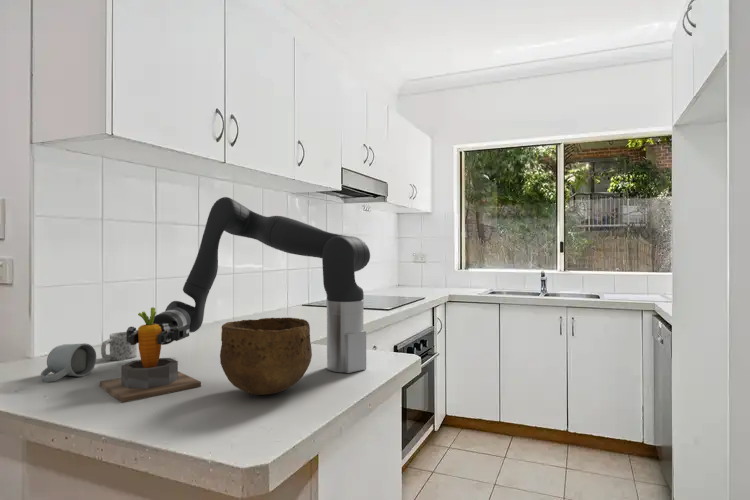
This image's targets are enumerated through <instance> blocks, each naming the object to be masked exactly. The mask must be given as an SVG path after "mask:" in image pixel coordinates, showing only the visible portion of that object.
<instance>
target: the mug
mask: <svg viewBox="0 0 750 500" xmlns="http://www.w3.org/2000/svg"><path fill="white" fill-rule="evenodd" d="M108 344H109V354H107V352H106V351H107V350H106V349H107V345H108ZM137 344H138V343H137ZM137 344H135V345H131V343H129V342H127V339H126V331H120V332H115V333H110V334H109V338H108V339H106V340H104V341H102V343H101V347H100V354H101V358H102V359H105V360H108V359H109V360H110V361H126V360H132V359H135V358H137V355H138V353H137V349H138V348H137Z"/></svg>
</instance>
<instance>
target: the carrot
mask: <svg viewBox="0 0 750 500" xmlns="http://www.w3.org/2000/svg"><path fill="white" fill-rule="evenodd" d="M137 315H138V316H139V317H141V318H142V319H143V321H144V323H145V324H142V325H140V326H139V327H138V329H137V330H138V343H137V344H138V352H139V357H140V360H141V362H142V364H143V367H144V368H152V367H157V364H158V361H159V358H161V357H160V356H161V350H162V345H161V344H158V334H159V333H161V332H162V330H161V327H160V326H159V325H158V324H153V321H154V317H155V316H156V315H157V311H156V307H154V306H152V307H150V316H148V315H147V312H146V311H144V310H143V311H142V312H138V314H137Z"/></svg>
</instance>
